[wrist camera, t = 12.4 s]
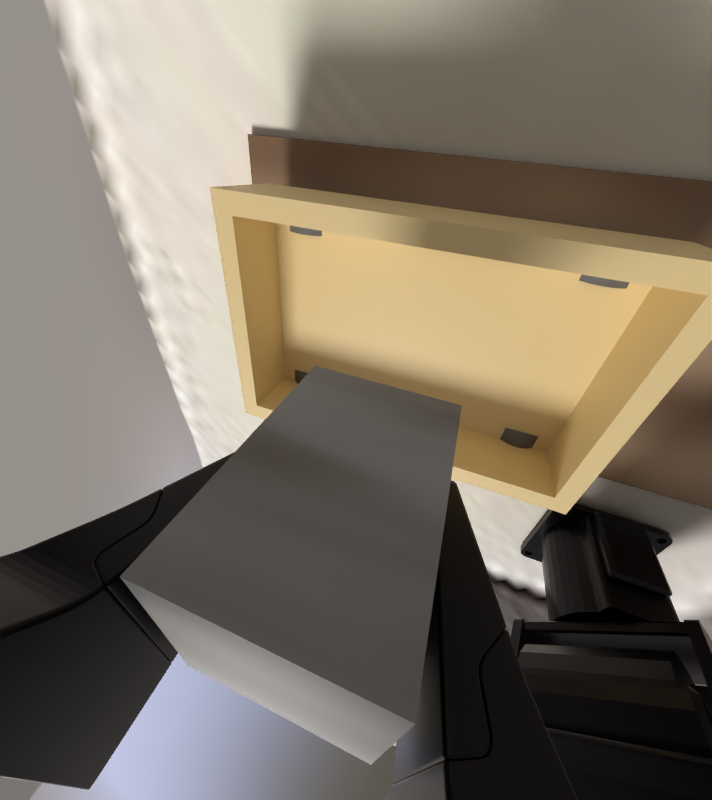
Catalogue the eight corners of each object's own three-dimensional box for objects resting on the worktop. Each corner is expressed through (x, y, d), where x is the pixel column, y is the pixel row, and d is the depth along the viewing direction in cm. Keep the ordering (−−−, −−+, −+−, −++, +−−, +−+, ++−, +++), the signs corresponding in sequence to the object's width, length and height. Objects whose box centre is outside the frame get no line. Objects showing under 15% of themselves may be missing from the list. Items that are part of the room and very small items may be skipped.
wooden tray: (550, 441, 18) (565, 514, 14) (290, 369, 22) (245, 412, 18) (679, 237, 12) (769, 270, 8) (281, 182, 16) (209, 187, 12)
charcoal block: (426, 501, 10) (370, 765, 6) (313, 463, 11) (187, 665, 7) (461, 405, 8) (415, 723, 3) (315, 365, 9) (119, 576, 4)
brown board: (813, 534, 17) (817, 539, 17) (272, 379, 24) (270, 381, 24) (1323, 244, 8) (1346, 246, 8) (251, 134, 15) (247, 133, 15)
